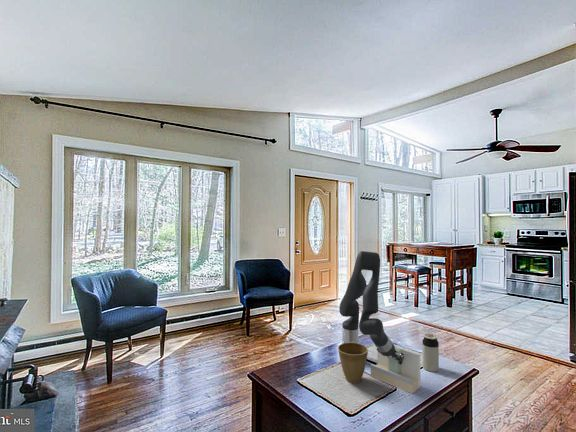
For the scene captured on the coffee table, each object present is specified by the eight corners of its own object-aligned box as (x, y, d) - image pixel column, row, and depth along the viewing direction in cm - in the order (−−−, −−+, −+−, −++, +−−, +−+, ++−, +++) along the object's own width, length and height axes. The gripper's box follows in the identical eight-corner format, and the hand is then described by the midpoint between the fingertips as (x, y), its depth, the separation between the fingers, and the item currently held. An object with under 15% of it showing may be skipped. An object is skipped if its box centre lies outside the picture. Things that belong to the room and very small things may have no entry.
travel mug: (421, 369, 168) (421, 336, 168) (424, 363, 174) (424, 331, 174) (437, 373, 163) (437, 339, 163) (439, 367, 170) (439, 334, 170)
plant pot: (368, 373, 164) (368, 343, 164) (367, 389, 149) (367, 356, 149) (339, 370, 168) (339, 340, 168) (336, 384, 153) (336, 352, 153)
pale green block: (397, 374, 154) (396, 352, 154) (388, 371, 157) (388, 349, 157) (401, 371, 157) (401, 349, 157) (392, 368, 160) (392, 346, 160)
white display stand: (412, 393, 146) (412, 359, 145) (370, 376, 162) (370, 345, 161) (420, 386, 152) (420, 353, 152) (379, 369, 168) (379, 340, 168)
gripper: (400, 341, 146) (412, 358, 154) (373, 333, 156) (385, 349, 165) (395, 356, 142) (407, 373, 151) (368, 346, 153) (380, 363, 161)
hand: (396, 360), depth 158 cm, fingers closed on pale green block, 4 cm apart
